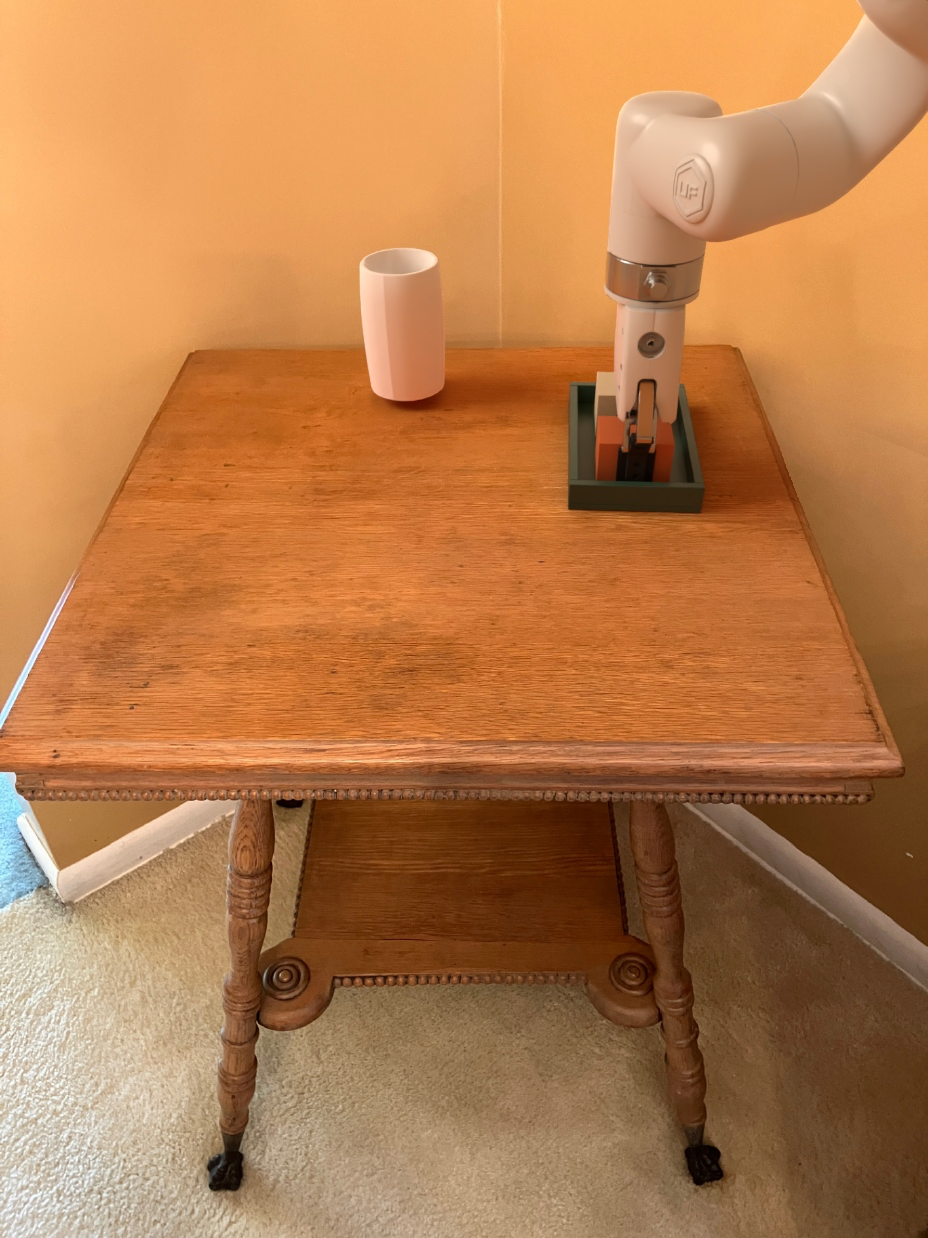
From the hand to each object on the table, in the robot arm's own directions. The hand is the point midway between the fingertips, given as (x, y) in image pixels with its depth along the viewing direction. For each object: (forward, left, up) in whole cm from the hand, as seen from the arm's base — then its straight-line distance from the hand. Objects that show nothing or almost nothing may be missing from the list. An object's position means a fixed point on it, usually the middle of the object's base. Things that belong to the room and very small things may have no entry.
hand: (631, 469), depth 84 cm
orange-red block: (0, 0, 0) cm, 0 cm away
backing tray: (+3, -3, -1) cm, 5 cm away
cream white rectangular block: (+6, -6, 0) cm, 9 cm away
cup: (+27, +6, -1) cm, 28 cm away
